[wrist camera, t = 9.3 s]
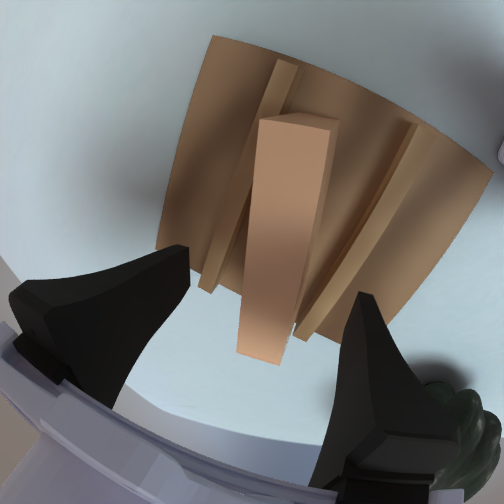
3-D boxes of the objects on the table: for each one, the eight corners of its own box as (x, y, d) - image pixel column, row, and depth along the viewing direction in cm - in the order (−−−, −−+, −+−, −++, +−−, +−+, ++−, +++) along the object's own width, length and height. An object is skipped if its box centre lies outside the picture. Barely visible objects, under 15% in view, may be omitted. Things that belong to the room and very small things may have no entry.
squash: (351, 423, 30) (326, 533, 18) (401, 343, 23) (395, 509, 10) (446, 433, 27) (441, 533, 15) (513, 360, 19) (538, 488, 7)
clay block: (340, 119, 16) (330, 130, 9) (306, 285, 22) (279, 365, 15) (298, 112, 16) (259, 119, 10) (274, 276, 23) (236, 352, 16)
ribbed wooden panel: (488, 168, 14) (506, 180, 12) (361, 345, 24) (359, 370, 22) (219, 37, 16) (198, 29, 14) (161, 244, 26) (142, 260, 24)
